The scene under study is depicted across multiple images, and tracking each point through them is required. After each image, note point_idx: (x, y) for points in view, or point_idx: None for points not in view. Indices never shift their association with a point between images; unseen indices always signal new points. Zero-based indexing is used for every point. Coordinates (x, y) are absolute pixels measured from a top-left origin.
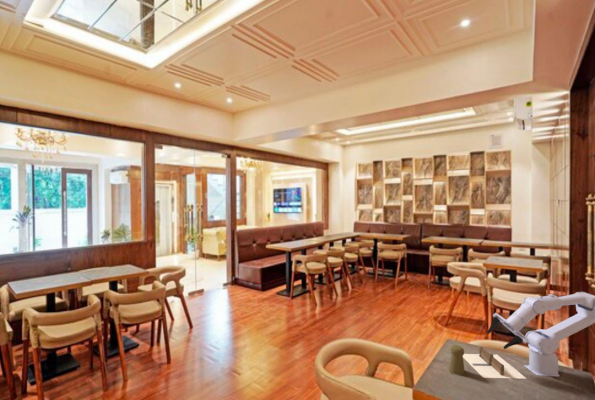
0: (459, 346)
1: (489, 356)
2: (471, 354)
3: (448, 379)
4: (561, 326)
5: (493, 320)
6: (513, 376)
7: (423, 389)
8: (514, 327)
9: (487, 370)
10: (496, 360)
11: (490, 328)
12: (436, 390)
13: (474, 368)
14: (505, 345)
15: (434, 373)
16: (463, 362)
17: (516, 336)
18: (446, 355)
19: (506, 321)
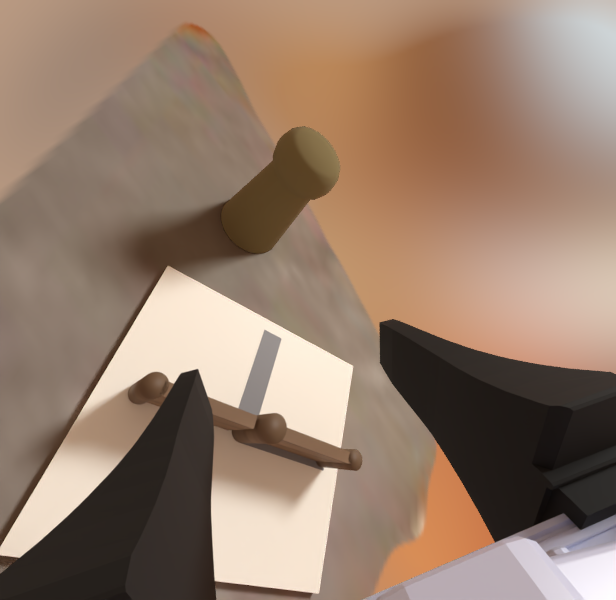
0: (319, 157)
1: (270, 413)
2: (341, 418)
3: (223, 152)
4: None
5: (557, 370)
6: (83, 457)
7: (208, 45)
8: None
9: (208, 352)
10: (215, 405)
11: (424, 335)
12: (186, 59)
13: (245, 308)
14: (191, 382)
15: (269, 157)
16: (258, 206)
17: (105, 553)
18: (353, 311)
19: (590, 577)
